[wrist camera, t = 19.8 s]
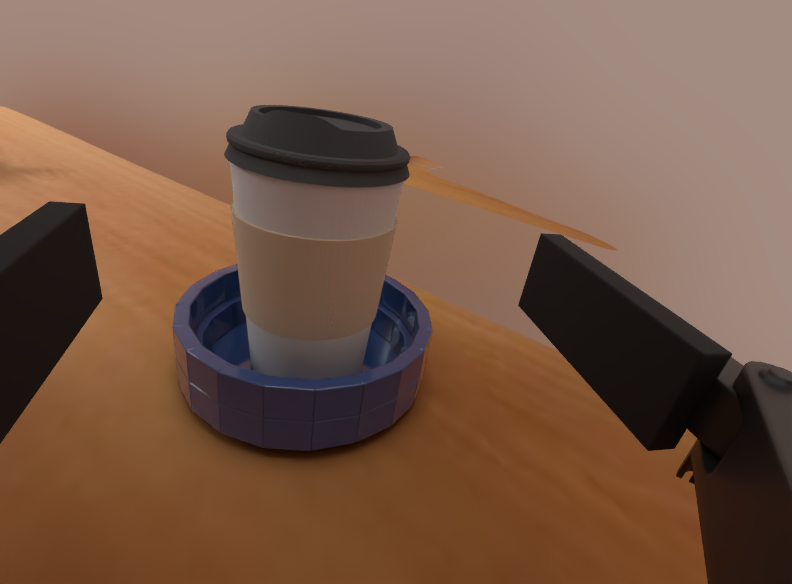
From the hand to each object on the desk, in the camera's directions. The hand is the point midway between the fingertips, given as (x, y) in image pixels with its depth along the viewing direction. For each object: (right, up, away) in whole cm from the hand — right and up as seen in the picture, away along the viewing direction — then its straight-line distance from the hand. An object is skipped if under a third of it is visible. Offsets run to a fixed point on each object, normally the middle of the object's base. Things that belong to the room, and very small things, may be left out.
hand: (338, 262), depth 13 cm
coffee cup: (-4, -5, +15) cm, 16 cm away
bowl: (-4, -6, +15) cm, 17 cm away
